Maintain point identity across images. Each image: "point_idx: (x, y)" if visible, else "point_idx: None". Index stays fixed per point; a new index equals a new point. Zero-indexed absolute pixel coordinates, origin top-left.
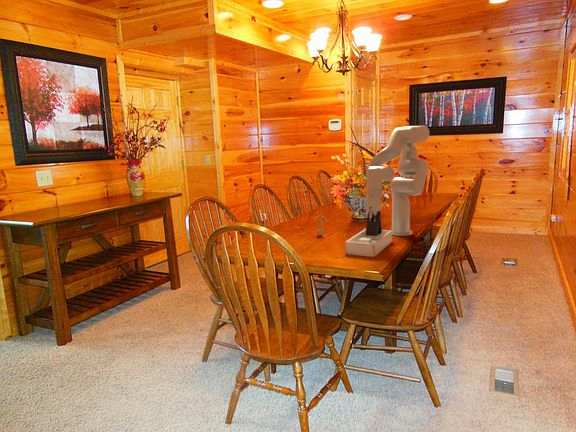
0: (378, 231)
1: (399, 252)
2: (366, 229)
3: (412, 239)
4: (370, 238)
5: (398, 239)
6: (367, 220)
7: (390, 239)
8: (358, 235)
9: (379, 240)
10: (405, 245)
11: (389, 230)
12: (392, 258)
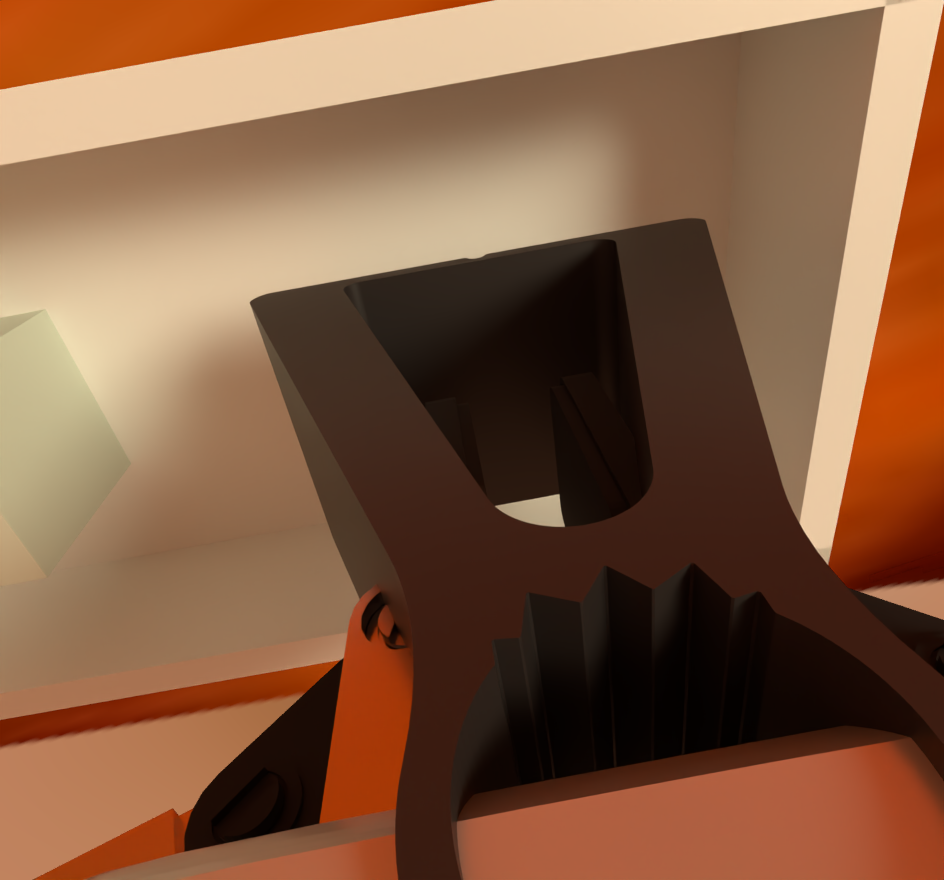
0: None
1: (303, 692)
2: (276, 356)
3: (922, 583)
4: (8, 567)
5: (894, 466)
6: (354, 496)
7: None
8: (89, 148)
9: (41, 710)
10: None
11: (828, 540)
12: (51, 731)
